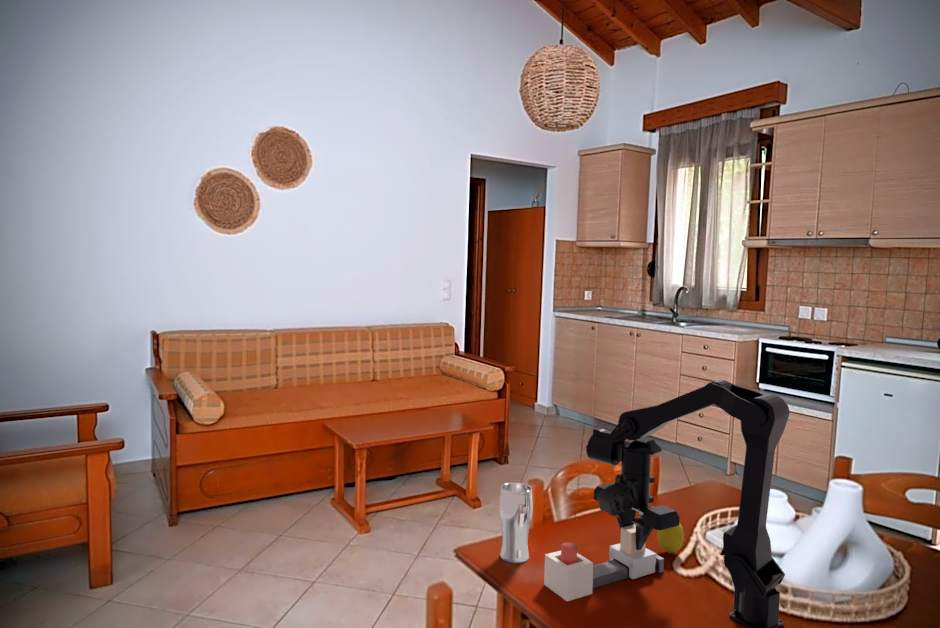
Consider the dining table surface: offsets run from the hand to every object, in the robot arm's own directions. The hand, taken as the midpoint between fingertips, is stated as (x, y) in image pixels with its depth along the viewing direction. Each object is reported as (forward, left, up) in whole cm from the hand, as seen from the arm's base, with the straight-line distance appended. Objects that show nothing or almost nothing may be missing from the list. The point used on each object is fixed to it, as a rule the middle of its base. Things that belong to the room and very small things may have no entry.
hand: (632, 546), depth 126 cm
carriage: (0, 0, -5) cm, 5 cm away
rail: (0, +4, -5) cm, 6 cm away
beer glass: (+16, +18, -5) cm, 25 cm away
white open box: (0, +17, -5) cm, 17 cm away
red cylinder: (0, +16, -1) cm, 17 cm away
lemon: (+2, -13, -5) cm, 14 cm away
